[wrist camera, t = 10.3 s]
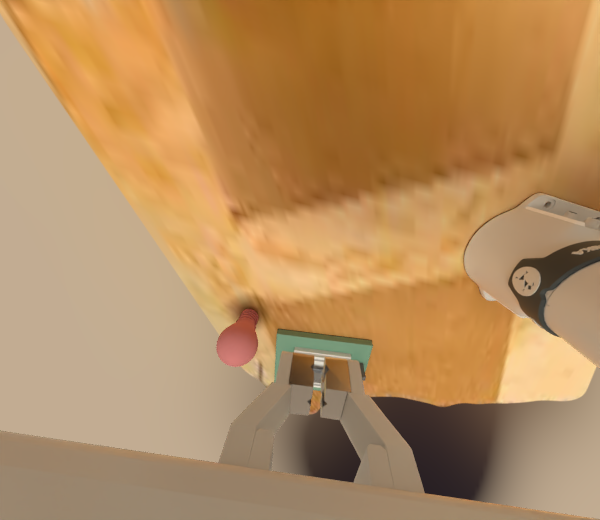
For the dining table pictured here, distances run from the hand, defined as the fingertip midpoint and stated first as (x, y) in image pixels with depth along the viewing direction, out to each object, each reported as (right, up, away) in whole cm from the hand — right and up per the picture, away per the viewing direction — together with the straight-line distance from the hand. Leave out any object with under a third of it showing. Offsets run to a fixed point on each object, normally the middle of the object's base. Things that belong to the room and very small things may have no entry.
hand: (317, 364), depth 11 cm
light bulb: (-11, -7, +39) cm, 41 cm away
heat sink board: (+4, -18, +43) cm, 47 cm away
